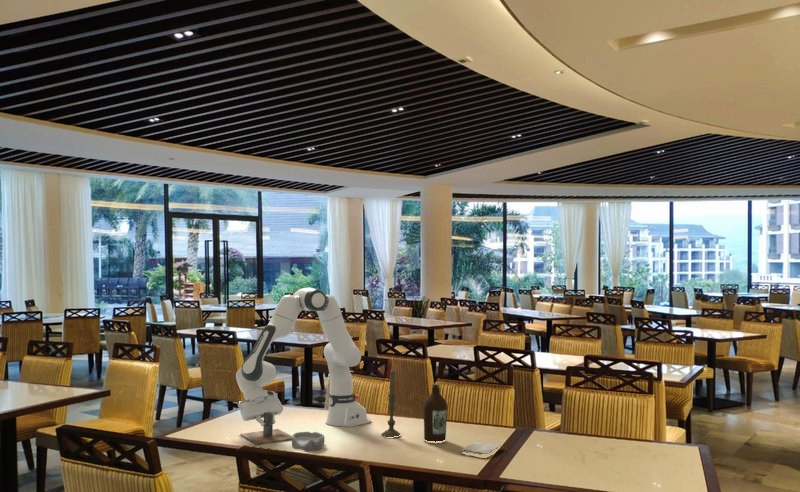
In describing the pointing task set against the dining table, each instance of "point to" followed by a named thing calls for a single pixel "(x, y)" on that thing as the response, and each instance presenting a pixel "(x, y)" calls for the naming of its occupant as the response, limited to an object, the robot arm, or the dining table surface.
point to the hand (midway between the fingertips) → (268, 424)
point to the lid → (267, 433)
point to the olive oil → (435, 416)
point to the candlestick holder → (391, 408)
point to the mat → (260, 445)
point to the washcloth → (480, 448)
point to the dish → (308, 440)
